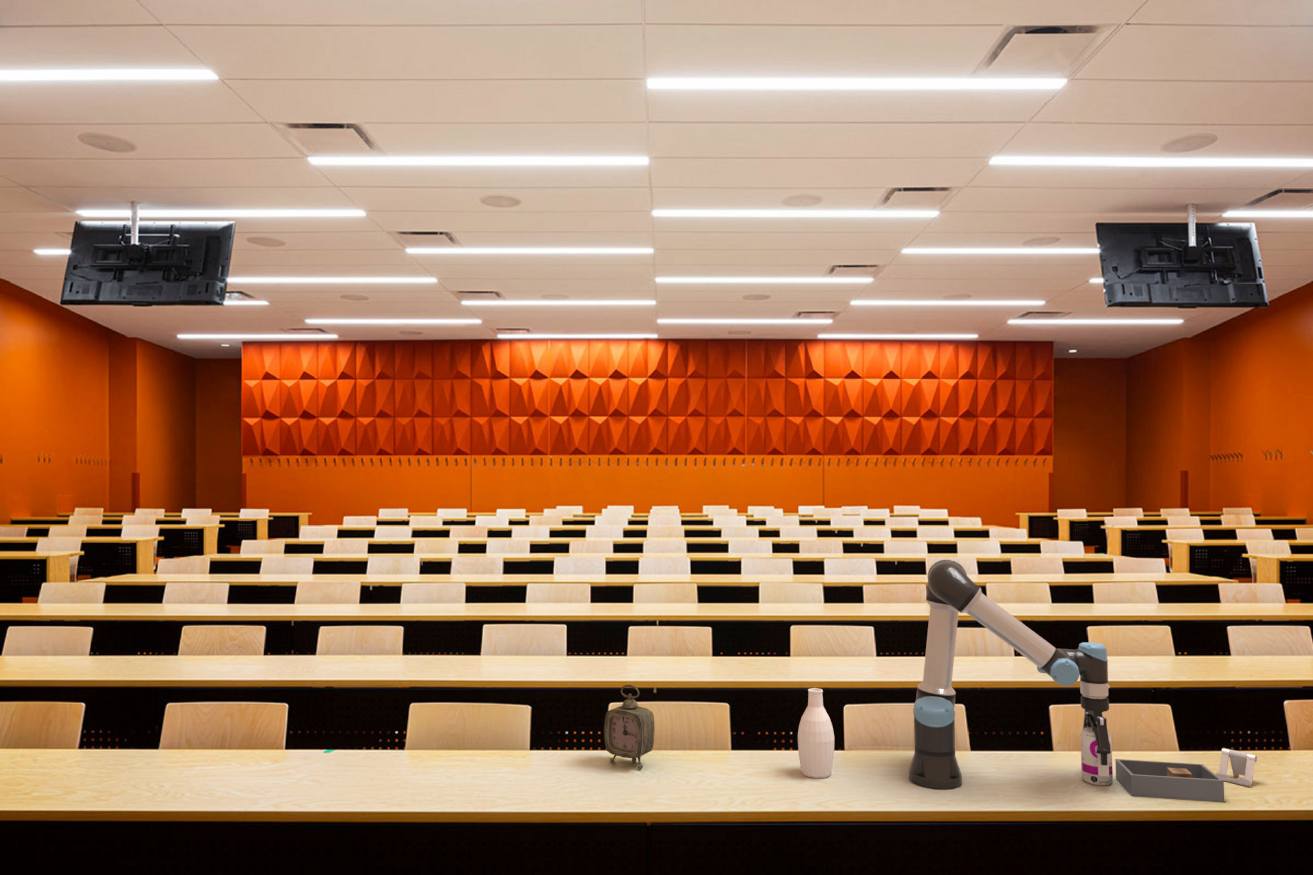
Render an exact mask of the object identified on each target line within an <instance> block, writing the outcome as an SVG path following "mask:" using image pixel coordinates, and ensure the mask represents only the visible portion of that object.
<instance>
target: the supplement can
mask: <svg viewBox="0 0 1313 875" xmlns="http://www.w3.org/2000/svg"><path fill="white" fill-rule="evenodd" d="M1107 731H1108V737H1109V744H1110V750H1111V753H1110V754H1108V759H1109V776H1099V775H1098V753H1096V751H1097V750H1098V746H1097V741H1096V737H1095V732H1094V731H1093V730H1092V727H1085V728H1083V727H1082V730H1081V732H1080V757H1081V759H1080V761H1081V762H1080V763H1081V764H1080V765H1081V778H1082V779H1083V780H1084V781H1085V783H1087V784H1091V785H1094V786H1110V785H1111V784H1112V783H1113V782H1114V779H1113V750H1112V748H1113V747H1112V744H1113V743H1112V736H1111V734H1110V731H1109V730H1107ZM1103 749H1105V748H1103Z"/></svg>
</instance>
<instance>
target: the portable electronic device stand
mask: <svg viewBox="0 0 1313 875" xmlns="http://www.w3.org/2000/svg"><path fill="white" fill-rule="evenodd" d="M1229 761H1230V766H1231V770H1232V774H1233V777H1235V778H1232V777H1229V774H1228V767H1229V766H1228V765H1229ZM1219 762H1220V763H1219V771H1217V772H1215V774H1216V775H1217V776H1218V777H1219V778H1221V779H1222V780H1223V781H1224V782H1227V783H1231V784H1236V785H1239V786H1244V787H1245V788H1252V786H1253V779H1254V778H1253V777H1254V769H1255V763H1257V762H1258V755H1256V754H1252V753H1247V752H1244V751H1239V750H1235V749H1230V748H1225V747H1222V748H1221V754H1220V760H1219ZM1240 776H1244V778H1243V777H1240ZM1236 778H1237V779H1236Z"/></svg>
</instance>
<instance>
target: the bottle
mask: <svg viewBox="0 0 1313 875" xmlns="http://www.w3.org/2000/svg"><path fill="white" fill-rule="evenodd" d="M807 691H808V694H807V696H808V698H807V700H808V701H807V706H806V708H805V710H804V712H803V714H802V716H801V718H800V721H799V725H798V732H797V747H798V748H797V750H798V758H799V759H798V760H799V765H800V770H801V773H802V774H803V775H804V776H805V777H807V778H810V777H812V779H826V778H829V777H831V775H832V772H833V768H834V767H833V766H834V759H835V734H834V728H833V723H832V721H831V718H830V716H829V714H828V713H827V710H826V708H825V706H824V697H823V693H824V691H823V689H822V688H817V687H812V688H808V689H807Z"/></svg>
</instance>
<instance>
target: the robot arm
mask: <svg viewBox="0 0 1313 875" xmlns="http://www.w3.org/2000/svg"><path fill="white" fill-rule="evenodd" d="M926 577H927V584H926V586H927V587H926V595H925V601H926V603H927V605H929V607H930V608H929V613H928V614H929V615H928V616H929V617H928V627H927V634H926V635H927V636H926V648H925V657H924V666H923V676H922V677H923V678H922V681H921V682H920V683H918V685H917V687H916V696H915V697H916V698H915V702H914V704H913V709H912V710H913V711H912V714H913V728H914V729H913V731H914V732H913V734H914V736H913V737H914V739H913V740H914V742H913V743H914V754H913V757H912V759H911V763H910V767H909V768H908V779H909V780H910V781H911V782H912V783H913V784H916V785H918V786H922V787H925V788H930V789H938V790H948V789H956V788H959V787H961V786H962V785H963V775H962V771H961V769H960V766H959V763H958V760H957V757H956V756H957V755H956V729H955V726H956V724H955V723H956V722H955V721H956V720H955V718H956V712H955V703H956V695H957V693H956V691H955V689H954V688H953V687H952V683H953V672H954V663H955V662H954V661H955V650H956V641H957V640H956V639H957V631H958V623H959V614H963V613H965V614H967V615H969V616H970V617H971V618H972V619H974V620H975V621H977V622H978V623H979V624H980V625H982V626H983V627H984V628H986V629H987V630H988V631H990V632H991V633H992V634H993V635H995V636H996V637H998V638H999V639H1001V641H1003V642H1005V643H1006V644H1007V645H1008V646H1010V647H1011V648H1012V649H1013V650H1015V651H1016V652H1017V653H1019V654H1020V655H1022V656H1023V657H1024V658H1025V659H1027V660H1028V661H1030V662H1031V663H1033V664H1034V665H1035V666H1036V669H1037V671H1038V673H1041V674H1045V675H1048V676H1049V677H1051V679H1052V680H1053V682H1055V683H1057V684H1058V685H1060V686H1064V687H1070V686H1072V685H1075V684H1076V683H1077V682H1078V680H1079V690H1080V694H1081V696H1080V707H1081V708H1082V709H1083V710H1084V717H1083V724H1082V729H1083V728H1085V727H1092V730H1093V731H1094V732H1095V737H1096V741H1097V746H1098V750H1097V751H1096V753H1098V775H1099V776H1109V759H1108V754H1110V753H1111V750H1110V744H1109V737H1108V731H1109V730H1108V726H1107V724H1108V722H1107V718H1106V717H1104V716H1103V713H1104V712H1108V711H1109V710H1110V700H1109V698H1108V697H1109V689H1110V688H1111V685H1109V671H1108V670H1109V668H1108V666H1109V664H1108V662H1109V660H1108V652H1107V650H1108V649H1107V647H1106V645H1104V644H1102V643H1099V642H1091V641H1090V642H1089V641H1088V642H1086V641H1085V642H1081V643H1079V644H1078V648H1075V649H1070V648H1069V649H1068V648H1056V647H1055V646H1053V645H1052V644H1051V643H1050V642H1048V641H1047V640H1046V639H1044V638H1043V637H1042V636H1040V635H1039V634H1038V633H1036V632H1035V631H1034V630H1032V629H1031V628H1029V627H1028V626H1026V625H1025V624H1024V623H1023V622H1021V621H1020V620H1019V619H1017V618H1016V617H1015V616H1013V615H1012V613H1010V612H1008V611H1006V610H1005V609H1004V608H1003V607H1001V606H1000V605H999V604H997V603H996V602H994V601H993V599H990V598H989V597H988V596H986V595H985V594H984V593H983V591H982V587H980V586H979V585H977V583H975V582H974V581H972V579H970V577H969V576H968V575H967V571H966V570H965V568H964V566H963V565H961V564H960V563H959V562H957V561H955V560H950V559H941V560H938V561H936V562H934V563H933V564H932V565H931V566H930V568H929V569H928V571H927V576H926ZM1103 748H1105V749H1103Z"/></svg>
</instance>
